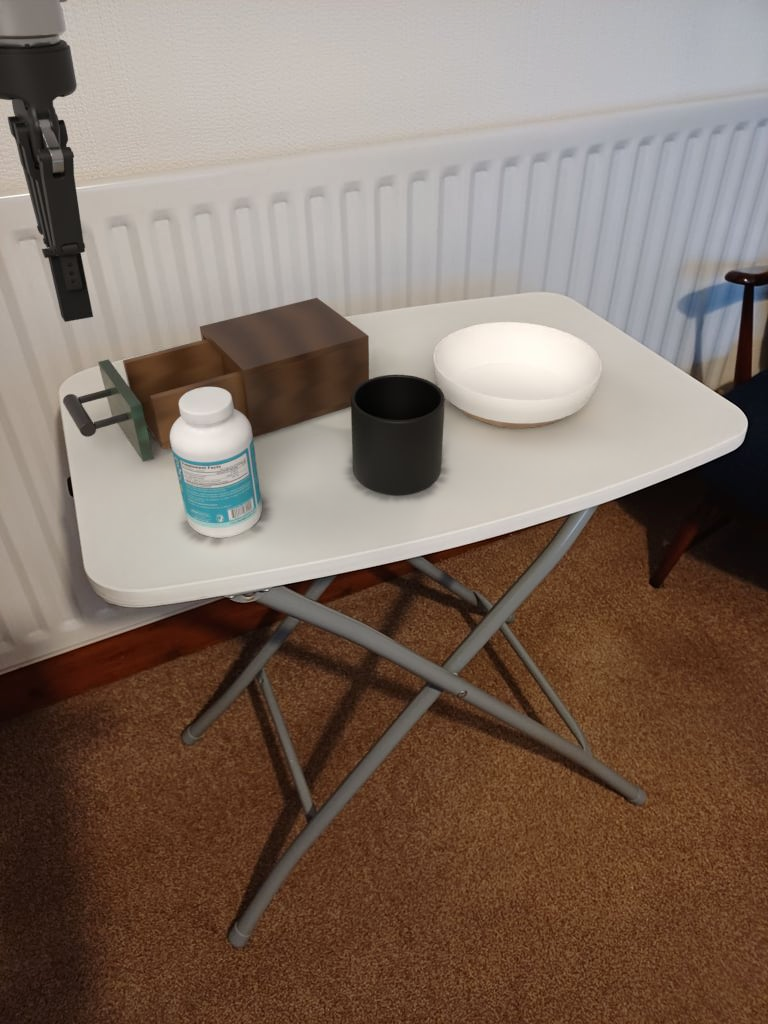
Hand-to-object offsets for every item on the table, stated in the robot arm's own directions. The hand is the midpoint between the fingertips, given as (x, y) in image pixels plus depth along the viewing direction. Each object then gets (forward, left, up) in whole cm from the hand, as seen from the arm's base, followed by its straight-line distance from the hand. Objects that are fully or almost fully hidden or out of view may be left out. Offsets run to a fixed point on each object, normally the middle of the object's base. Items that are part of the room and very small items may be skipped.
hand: (77, 316), depth 77 cm
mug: (+26, -20, -16) cm, 36 cm away
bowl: (+44, -16, -16) cm, 49 cm away
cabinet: (+22, 0, -16) cm, 27 cm away
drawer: (+7, 0, -15) cm, 17 cm away
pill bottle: (+6, -18, -16) cm, 25 cm away
